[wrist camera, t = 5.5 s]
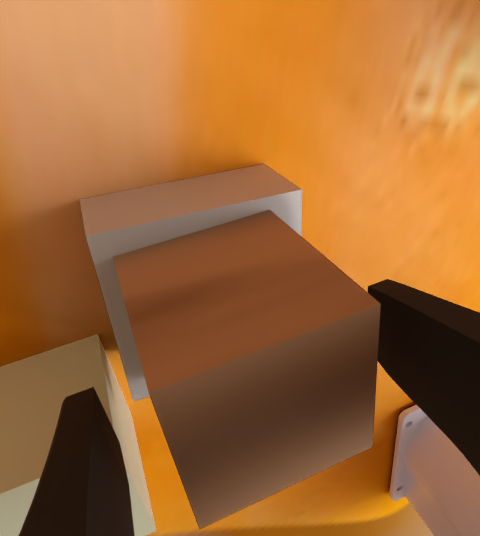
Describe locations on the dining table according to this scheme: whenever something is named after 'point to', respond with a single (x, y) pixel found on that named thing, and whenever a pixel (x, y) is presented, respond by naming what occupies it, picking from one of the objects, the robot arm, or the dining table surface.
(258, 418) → the walnut block
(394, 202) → the dining table surface
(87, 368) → the sage block
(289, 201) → the stone slab
